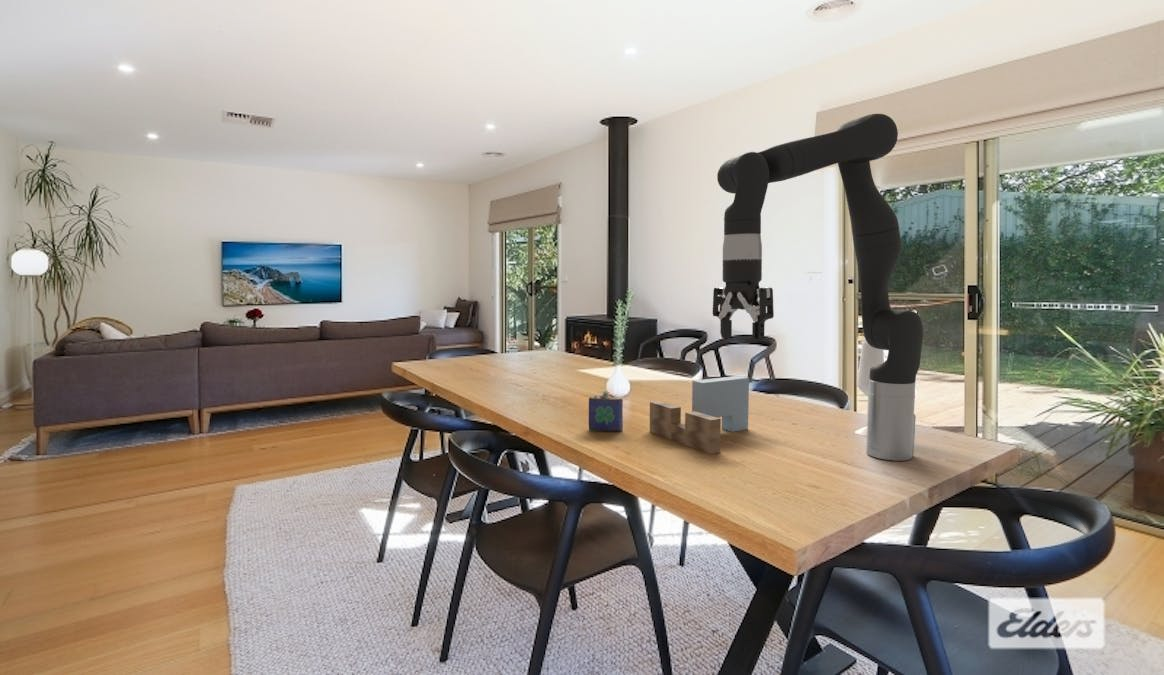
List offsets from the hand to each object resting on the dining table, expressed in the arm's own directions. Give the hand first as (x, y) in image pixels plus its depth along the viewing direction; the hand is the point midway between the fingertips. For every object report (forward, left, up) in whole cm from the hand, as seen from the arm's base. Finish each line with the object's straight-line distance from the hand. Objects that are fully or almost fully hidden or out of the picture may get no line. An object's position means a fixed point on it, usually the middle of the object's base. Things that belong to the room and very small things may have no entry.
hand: (741, 339), depth 120 cm
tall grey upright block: (-22, -30, -28) cm, 46 cm away
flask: (+4, -46, -28) cm, 54 cm away
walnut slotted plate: (-7, -27, -28) cm, 39 cm away
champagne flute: (-54, -9, -28) cm, 61 cm away
